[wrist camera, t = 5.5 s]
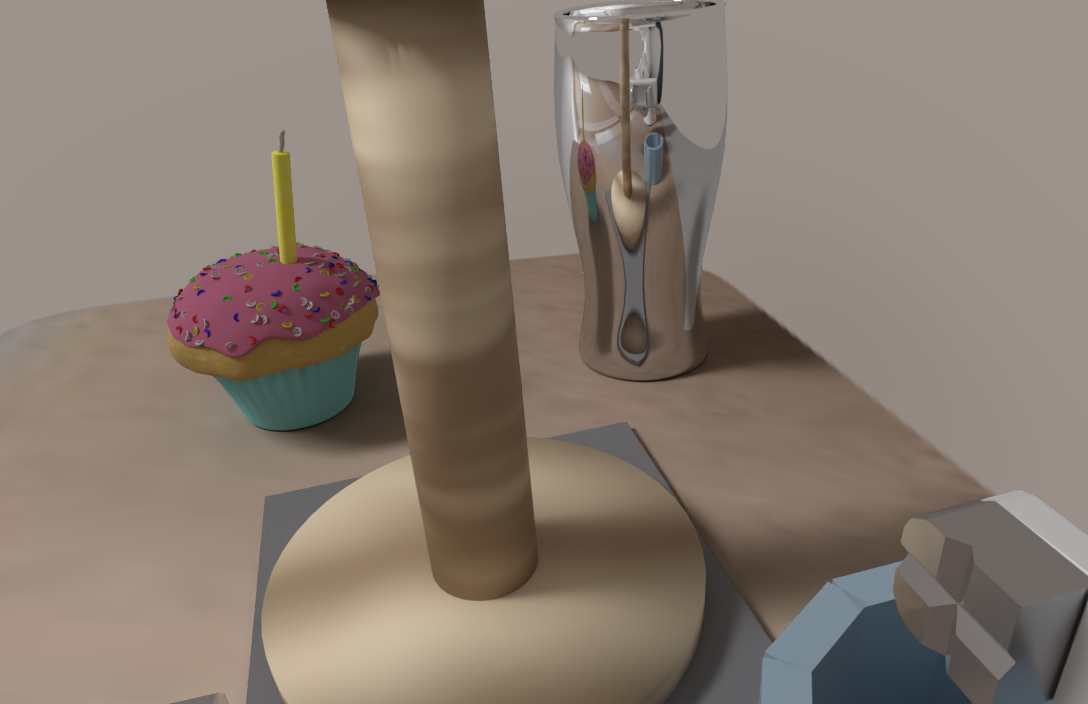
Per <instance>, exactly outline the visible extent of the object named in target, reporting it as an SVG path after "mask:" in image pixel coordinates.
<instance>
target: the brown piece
mask: <svg viewBox="0 0 1088 704" xmlns="http://www.w3.org/2000/svg"><path fill="white" fill-rule="evenodd" d="M326 3H327V9H328V14H329V19H330V24H331V30H332V36H333V41H334V46H335V52H336V57H337V63H338V67H339V73H340V79H341V84H342V89H343V95H344V100H345V105H346V111H347V116H348V122H349V127H350V133H351V138H352V143H353V149H354V153H355V159H356V165H357V170H358V176H359V181H360V186H361V192H362V197H363V203H364V208H365V213H366V219H367V224H368V229H369V235H370V240H371V245H372V251H373V256H374V262H375V267H376V273H377V278H378V283H379V289H380V294H381V300H382V305H383V310H384V316H385V321H386V327H387V332H388V337H389V343H390V348H391V353H392V359H393V364H394V370H395V375H396V380H397V386H398V391H399V397H400V402H401V407H402V413H403V418H404V423H405V429H406V434H407V440H408V445H409V450H410V455H409V456H406V457H404V458H401V459H399V460H396V461H394V462H391V463H389V464H386V465H384V466H383V467H381V468H379V469H377V470H375V471H373V472H371V473H369V474H367V475H365V476H363V477H362V478H360V479H358V480H357V481H355V482H353V483H352V484H350V485H349V486H347V487H345V488H344V489H343V490H341V491H340V492H339V493H337V494H336V495H335V496H333V497H332V498H331V499H329V500H328V501H327V502H326V503H324V504H323V505H322V506H321V507H320V508H319V509H318V510H317V511H316V512H315V513H313V514H312V515H311V516H310V517H309V518H308V519H307V521H306V522H305V523H304V524H303V525H302V526H301V527H300V528H299V530H298V531H297V532H296V533H295V534H294V536H293V537H292V539H291V540H290V541H289V543H288V544H287V546H286V547H285V549H284V550H283V551H282V553H281V555H280V557H279V559H278V561H277V563H276V565H275V567H274V569H273V571H272V573H271V576H270V579H269V582H268V585H267V588H266V590H265V595H264V601H263V607H262V613H261V623H262V639H263V644H264V649H265V654H266V658H267V661H268V664H269V667H270V670H271V673H272V676H273V679H274V681H275V684H276V686H277V689H278V691H279V693H280V696H281V698H282V701H283V703H284V704H663V703H664V702H665V701H666V700H667V698H668V697H669V696H670V695H671V694H672V692H673V691H674V690H675V689H676V687H677V686H678V684H679V682H680V681H681V679H682V677H683V676H684V674H685V672H686V671H687V669H688V667H689V666H690V664H691V661H692V659H693V656H694V654H695V651H696V649H697V646H698V644H699V641H700V636H701V631H702V627H703V622H704V611H705V584H706V568H705V561H704V555H703V549H702V546H701V543H700V540H699V538H698V535H697V532H696V530H695V528H694V526H693V524H692V522H691V520H690V519H689V517H688V515H687V513H686V512H685V511H684V509H683V508H682V507H681V505H680V504H679V503H678V502H677V500H676V499H675V498H674V497H673V496H672V495H671V494H670V493H669V492H668V491H667V490H666V489H665V488H664V487H663V486H662V485H661V484H660V483H658V482H657V481H656V480H654V479H653V478H652V477H650V476H649V475H648V474H646V473H645V472H644V471H642V470H640V469H638V468H637V467H635V466H633V465H631V464H630V463H628V462H626V461H624V460H622V459H619V458H617V457H615V456H613V455H610V454H608V453H606V452H602V451H599V450H596V449H593V448H590V447H587V446H583V445H579V444H574V443H570V442H566V441H559V440H552V439H545V438H531V437H526V427H525V417H524V406H523V396H522V386H521V376H520V366H519V356H518V345H517V335H516V325H515V315H514V305H513V295H512V284H511V274H510V264H509V254H508V244H507V234H506V224H505V213H504V203H503V193H502V183H501V173H500V163H499V152H498V142H497V132H496V122H495V113H494V101H493V92H492V81H491V71H490V61H489V51H488V41H487V30H486V20H485V10H484V1H483V0H326Z"/></svg>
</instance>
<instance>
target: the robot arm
mask: <svg viewBox="0 0 1088 704" xmlns="http://www.w3.org/2000/svg"><path fill="white" fill-rule="evenodd" d="M901 544H902V545H903V547H904V548H905V549H906V550H907V552H908V553H909V554H908V555H907V556H906V557H905V559H904V560H903V561H902V562H901V564H900V565H899V566H898V567H897V569H896V570H895V577H894V585H893V593H894V597H895V601H896V605H897V608H898V612H899V614H900V616H901V617H902V619H903V621H904V623H905V624H906V626H907V628H908V629H909V630H910V632H911V633H912V634H913V635H914V636H915V638H916V639H917V640H918V641H919V642H920V644H921V645H923V646H925V647H928V648H930V649H932V650H934V651H936V652H938V653H940V654H942V655H944V656H945V661H946V671H947V675H948V676H949V677H950V678H951V679H952V680H953V681H954V683H955V684H956V685H957V686H958V687H959V688H960V689H961V691H962V692H963V693H964V694H965V695H966V696H967V697H968V698H969V700H970V701H971V702H972V703H973V704H1045V703H1049V702H1052V704H1088V535H1086V534H1085V533H1084V532H1082V531H1081V530H1080V529H1078V528H1077V527H1076V526H1074V525H1073V524H1072V523H1071V522H1069V521H1068V520H1067V519H1065V518H1064V517H1063V516H1061V515H1060V514H1059V513H1057V512H1056V511H1054V510H1053V509H1052V508H1051V507H1049V506H1048V505H1047V504H1045V503H1044V502H1043V501H1041V500H1040V499H1039V498H1037V497H1036V496H1034V495H1032V494H1030V493H1027V492H1024V491H1021V490H1017V491H1013V492H1009V493H1005V494H1001V495H997V496H993V497H989V498H986V499H983V500H981V501H973V502H969V503H965V504H961V505H958V506H954V507H950V508H946V509H943V510H939V511H935V512H931V513H927V514H924V515H920V516H916V517H912V518H911V519H910V520H909V521H908V523H907V524H906V525H905V526H904V529H903V534H902V538H901ZM171 704H229V703H228V700H227V698H226V696H225V694H223V693H216V694H211V695H207V696H202V697H198V698H193V699H189V700H185V701H180V702H176V703H171Z"/></svg>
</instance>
